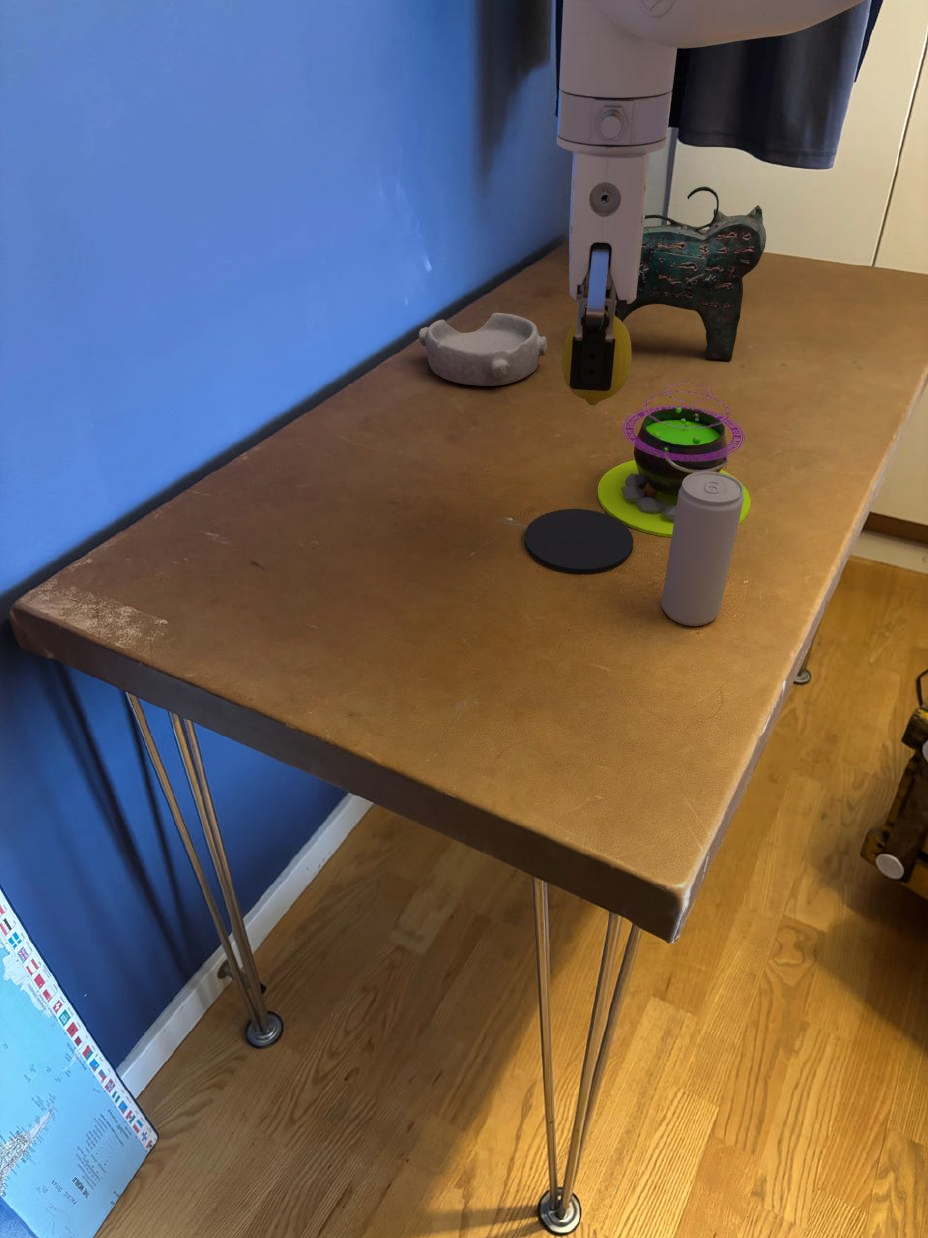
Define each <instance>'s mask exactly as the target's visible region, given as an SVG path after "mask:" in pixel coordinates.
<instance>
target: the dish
mask: <svg viewBox="0 0 928 1238" xmlns="http://www.w3.org/2000/svg"><path fill="white" fill-rule="evenodd" d="M418 337H419V338H418V339H419V342H420V345H421V346H423V347H425V350H426V356H427V361H428V364H429V367H430V369H431V371H432V372H433V373H434V374H435V375H437V376H439V378H442V379H444V380H447V381H449V382H453V383H456V384H462V385H468V386H478V387H479V386H481V387H494V386H504V385H508V384H512V383H515V382H518V381H520V380H523V379H525V378H526V377H528V376H530V375H531V374H533V373H534V372H535V371H536V370H537V368H538V366H539V363H540V357H541V356H542V357H543V356H545V355H546V354H547V350H548V340H547V336H545V335H542V336H540V333H539V330H538V327H537V325H536V324H535V323H534V322H532V321H531V320H529V319H527V318H526V317H525V318H524V317H522V316H519V315H516V314H511V313H503V312H494V313H492V314H491V316H490V317H489V318H488V320H487V321H486V322H485V323H484V324H483V325H482V326H481V327H480V328H478V329H476V330H475V331H470V332H461V331H460V332H459V331H458V330H456V329H454V328H453V327H451V325H449V324H448V323H447V321H446V320H445V319H439V320H436V321H434V322H432V323H431V324H430V325H429V327H428V326H425V327H422V328H420V330H419V331H418Z"/></svg>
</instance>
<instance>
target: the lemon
mask: <svg viewBox="0 0 928 1238" xmlns="http://www.w3.org/2000/svg"><path fill="white" fill-rule="evenodd" d="M604 314H607V316H608V312H606V310H605V309H604ZM576 325H577V320H575V321H574V323H573V324H572V325H571V326H570V328H569V330H568V331H567V334H566V337H565V338H564V342H563V347H562V352H561V371H562V377H563V378H564V382H565V384H566V386H567V387H568V389H569V390H570V391H571V392H572V393H573V394H574V395H575V396H576V397H578V398H579V399H582V400H585V401H586V403H587V404H588V405H589V406H597V405H598V404H599V403H600V402H601V401H605V400H608V399H609V398H612V397H613V396H614V395H616V394H617V393H618V392H619V391H620V390H621V389H622V388H623V386H624V385H625V383H626V381H627V379H628V377H629V374H630V371H631V367H632V357H633V355H632V354H633V353H632V352H633V351H632V342H631V336H630V333H629V330H628V328H627V326H626V325H625V323H624V321H623V322H622V321H621V320H620V319H619V318H617V317H616V316H614V326H613V337H612V339H616V341H615V351H614V362H613V372H612V382H611V388H610V390H608V391H595V390H578V389H572V388H571V387H570V371H571V356H572V341H573V337H576ZM605 333H606V332H605ZM605 338H606V337H605Z"/></svg>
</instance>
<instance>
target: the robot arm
mask: <svg viewBox="0 0 928 1238" xmlns="http://www.w3.org/2000/svg"><path fill="white" fill-rule="evenodd" d="M562 1H563V2H562V5H563V6H562V21H561V23H562V24H561V40H560V41H561V42H560V62H559V82H558V83H559V84H558V85H559V86H558V87H559V88H558V105H557V106H558V107H557V123H556V125H557V126H556V128H557V129H556V145H557V146H558V147H560V148H561V149H564V150H566V151H570V152H572V166H571V182H570V207H569V230H568V231H569V234H568V236H569V237H568V239H569V240H568V272H569V273H568V274H569V275H568V283H569V297H571V298H572V300H573V301H574V302H577V313H576V314H577V315H576V321H577V325H576V337H573V341H572V356H571V371H570V387H571V388H572V389H578V390H595V391H608V390H610V388H611V382H612V372H613V362H614V351H615V341H616V339H612V337H613V326H614V316H616V317H617V316H618V309H615V305H616V303H617V301H616V294H617V295H618V298H619V300H627V304H630V303H632V302H633V301H634V300H635V299H636V294H637V284H638V275H639V266H640V257H641V248H642V239H643V229H644V227H645V220H646V219H645V215H646V209H647V199H648V188H649V174H650V173H649V172H650V153H654V152H658V151H660V150H662V149H664V148H665V147H666V146H667V136H668V131H669V130H668V129H669V122H670V120H669V119H670V114H671V113H670V112H671V104H672V97H673V96H672V95H673V88H674V87H673V86H674V80H675V79H674V77H675V69H676V62H677V52H678V49H692V48H693V49H695V48H702V47H709V46H716V45H717V46H718V45H722V44H728V43H732V42H740V41H747V40H755V39H762V38H769V37H778V36H785V35H786V36H787V35H790V34H793V33H797V32H800V31H803V30H806V29H808V28H811V27H813V26H815V25H818V24H820V23H822V22H824V21H826V20H829V19H831V18H833V17H835V16H837V15H839V14H842V13H843V12H845V11H847V10H849V9H852V8H854V7H855V6H857V5H859V4H861V3H863V2H865V1H866V0H562ZM609 294H610V297H609ZM604 309H605V310H606V312H608V316H607V314H604ZM605 332H606V333H605ZM605 337H606V338H605Z"/></svg>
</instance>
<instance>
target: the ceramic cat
mask: <svg viewBox="0 0 928 1238" xmlns="http://www.w3.org/2000/svg"><path fill="white" fill-rule="evenodd" d="M699 192H709V193H710V194H712V195H713V196H714V198H715V199H716V208H714V209H713V217H712V220H711V221H710V222H709V223H707V224H703V225H700V226H692V225H690V224H687V223H682V222H680V221H676V220H674V219H672V218H670V217H668V216H664V215H662V214H655V213H654V214H645V220H648V219H659V220H664V221H666V222H668V223H667V224H666V223H665V224H660V225H654V226H644V229H643V239H642V248H641V257H640V266H639V275H638V284H637V294H636V299H635V300H634V301H633V302H632V303H630V304H627V300H619V298H618V295H617V294H616V301H617V303H616V305H615V309H618V316H617V318H619V319H620V320H621V321H622V322H623V323H624V321H625V319H627V317H629V315H631V314H632V313H633V312H635V311H636V310H638V309H641V308H643V307H646V306H650V305H651V306H652V305H663V306H669V307H672V308H676V309H677V308H678V309H683V310H688V311H694V312H696V313H697V314H698V315H699V317H700V319H701V322H702V324H703V326H704V330H705V341H706V348H705V360H706V361H707V360H708V361H715V360H716V361H717V360H719V361H726V362H730V361H732V357H733V353H734V348H735V344H736V340H737V335H738V334H737V333H738V327H739V323H740V319H741V314H742V313H741V312H742V305H743V304H742V303H743V296H744V282H743V278H744V277H745V276H746V275H748V274H749V273H751V272H752V270H754V269H755V268H756V267H757V266H758V265H759V263H760V260H761V258H762V255H763V254H764V251H765V248H766V243H767V232H766V227H765V225H764V223H763V221H764V217H763V209H762V208H761V207H760V205H756V206H755V207H754V208H753V209H752V210H751V211H750V212H749V213H748V214H735V215H726V214H725V213H723V212H722V211H721V210H719V208H720V199H719V194H718V193H717V192H716V191H715V190H714V189H713V188H711V187H709V186H698V187H696V188H694V189H693V190H692V191H690V192H689V193H688V195H687V196H686V198H687V200H690V198H691V197H692V196H693V195H695V194H697V193H699ZM706 228H707V229H706ZM609 297H610V294H609Z"/></svg>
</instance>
